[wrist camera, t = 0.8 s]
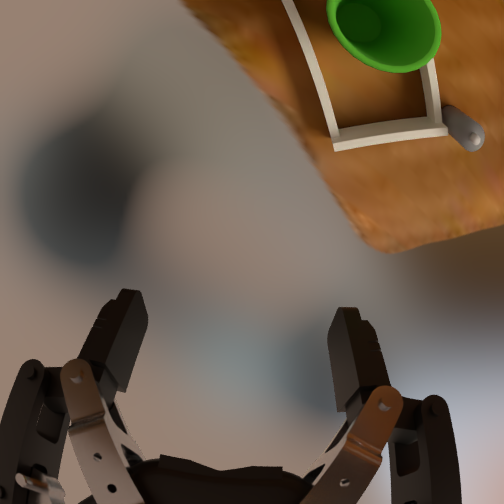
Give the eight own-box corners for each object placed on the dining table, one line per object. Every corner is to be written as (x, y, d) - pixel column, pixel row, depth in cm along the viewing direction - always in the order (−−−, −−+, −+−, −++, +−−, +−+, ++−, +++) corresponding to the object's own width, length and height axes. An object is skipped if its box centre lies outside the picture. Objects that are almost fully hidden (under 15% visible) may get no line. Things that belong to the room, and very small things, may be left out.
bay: (278, -7, 18) (272, -19, 13) (431, -20, 11) (460, -25, 7) (333, 147, 31) (340, 173, 26) (461, 130, 24) (487, 153, 20)
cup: (347, 71, 24) (371, 90, 16) (298, 8, 19) (300, -7, 12) (410, 43, 19) (459, 54, 11) (366, -23, 14) (399, -45, 7)
